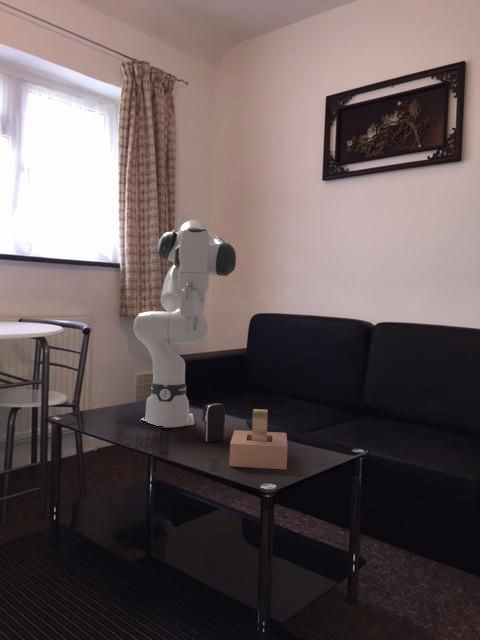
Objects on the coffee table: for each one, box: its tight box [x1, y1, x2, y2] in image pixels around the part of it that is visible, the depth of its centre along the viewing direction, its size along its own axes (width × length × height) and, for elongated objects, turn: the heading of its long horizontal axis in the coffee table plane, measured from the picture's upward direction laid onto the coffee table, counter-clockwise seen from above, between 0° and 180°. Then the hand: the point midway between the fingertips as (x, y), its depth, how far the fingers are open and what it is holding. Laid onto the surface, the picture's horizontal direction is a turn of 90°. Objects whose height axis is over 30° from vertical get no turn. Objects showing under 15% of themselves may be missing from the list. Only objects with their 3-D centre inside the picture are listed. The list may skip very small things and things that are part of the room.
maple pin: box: [251, 408, 268, 442], centre depth 148 cm, size 4×4×12 cm
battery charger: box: [201, 402, 226, 443], centre depth 167 cm, size 7×4×11 cm, turn 134°
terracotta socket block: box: [228, 429, 288, 470], centre depth 148 cm, size 15×15×6 cm
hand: (191, 331), depth 155 cm, fingers open, 8 cm apart
